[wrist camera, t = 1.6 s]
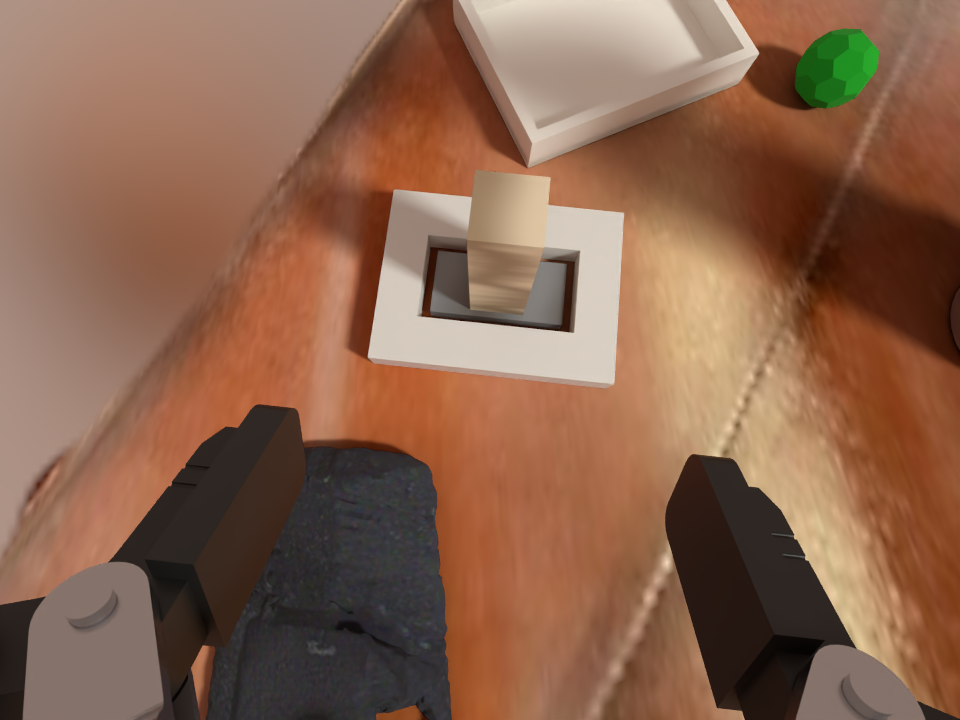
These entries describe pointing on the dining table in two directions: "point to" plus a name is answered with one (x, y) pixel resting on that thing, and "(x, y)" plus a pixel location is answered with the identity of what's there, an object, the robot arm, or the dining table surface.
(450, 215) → the slot plate
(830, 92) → the polyhedron
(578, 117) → the tray
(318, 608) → the dark slate chunk
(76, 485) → the dining table surface
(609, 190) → the dining table surface
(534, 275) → the wooden post on base
